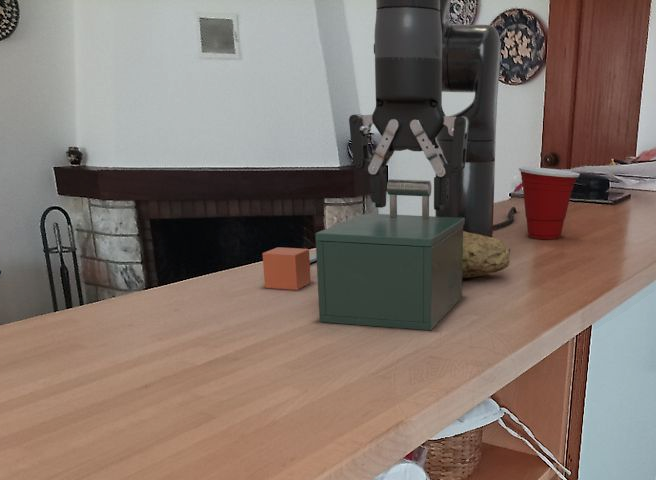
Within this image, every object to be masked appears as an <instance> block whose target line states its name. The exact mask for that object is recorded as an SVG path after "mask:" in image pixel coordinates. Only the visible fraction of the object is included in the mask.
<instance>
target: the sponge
mask: <svg viewBox="0 0 656 480" xmlns="http://www.w3.org/2000/svg"><path fill="white" fill-rule="evenodd" d="M510 254H511V248H510V247H509V246H507V245H506V244H504V242H503V241H502V240H501V239H498V238H496V237H493V238H491V237H487V236H483V235H479V234H474V233H468V232H465V231H463V267H462V279H467V278H468V279H470V278H477V277H482V276H486V275H489V274H493V273H498V272H500V271H503V270H505V269H507V268H508V267H509V266H510V265H511V262H510V261H511V260H510Z"/></svg>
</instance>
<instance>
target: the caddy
mask: <svg viewBox="0 0 656 480" xmlns="http://www.w3.org/2000/svg"><path fill="white" fill-rule="evenodd" d="M315 253H316V257H317V260H316V274H317V275H316V277H317V296H318V315H319V322H320V323H329V324H340V325H341V324H342V325H343V324H344V325H355V326H368V327H380V328H381V327H382V328H392V329H393V328H395V329H406V330H420V331H421V330H422V331H432V330H433V329H434V328H435V327H436V326H437V325H438V324H439V322H440V321H441V320H442V319H443V318H444V317H445V316H446V315H447V314H448V313H449V312H450V311H451V310H452V308H454V306H456V304H457V303H458V302H459V301H461V299H462V298H463V278H462V267H463V226H461V227H460V228H458V229H457V230H455V231H454V232H452V233H451V234H449V235H448V236H446V237H445V238H443V239H442V240H440V241H439V242H437V243H436V244H434V245H433V246H431V247H424V246H406V245H387V244H369V243H350V242H332V241H316V240H315Z"/></svg>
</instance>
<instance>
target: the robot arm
mask: <svg viewBox="0 0 656 480" xmlns="http://www.w3.org/2000/svg"><path fill="white" fill-rule="evenodd" d="M451 4H452V0H375V7H376V8H375V9H376V11H375V24H374V39H373V40H374V42H373V43H374V44H373V54H374V83H375V84H374V85H375V86H374V87H375V108H374V111H373V113H372V114H359V113H356V114H355V113H354V114H351V115H350V116H349V118H348V124H349V134H350V142H351V143H350V145H351V153H352V164H353V166H354V168H355V169H358V170H359V169H360V170H362V171H364V172H366V173H368V175H369V187H370V188H369V189H370V193H369V194H370V195H369V196H370V201H371V203H374V207H375V208H377V209H378V208H380V209H382V208H385V207H386V206H387V174H386V173H385V174H384V171H385V169H386V166H387V164H388V163H389V160H390V159H391V158H392V157H393V156H394V155H393V154H394V153H395V152H402V151H406V150H408V151H411V152H423V154H424V156H425V158H426V159H427V160H428V161H429V164H430V165H431V167H432V169H433V171H434V173H435V176H434V177H433V210H434V211H435V212H434V213H435V214H434V215H435V217H456V218H465V224H464V225H463V231H465V232H468V233H474V234H479V235H483V236H487V237H491V238H494V237H493V233H494V232H493V231H494V229H499V228H501V227H505V226H507V225H509V224H511V223H512V222H513V221H514V215H513V213H514V214H517V213H518V211H517V208H516V206H512V207H511V208H510V210H509V211H508V213H507V214H508V219H507V220H505V221H502V222H499V223H496V224H494V209H495V208H494V207H495V206H494V205H495V177H496V174H495V173H496V140H497V117H498V116H497V115H498V114H497V112H498V111H497V110H498V96H499V95H498V93H499V81H500V71H501V55H502V54H501V51H502V50H501V49H502V48H501V37H500V35H499V31H498V30H497V28H496V27H495V26H494V25H491V24H451V23H450V11H451ZM443 93H472V94H473V93H474V96H473V99H472V102H471V103H470V104H469V105H468V106H467V107H465V108H464V109H462V110H460V111H459V112H457V113H455V114H452V115H446V113H445V111H444V109H443V102H442V101H443ZM373 125H374V127H375V129H376V130H377V131H378V133H379V134H380V136H381V138H380V141H379V142H378V144H377V147H376V148H375V150H374V155H373V157H372V158H370V152H369V151H370V150H369V140H368V134H370V132H371V131H372V126H373Z"/></svg>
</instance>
